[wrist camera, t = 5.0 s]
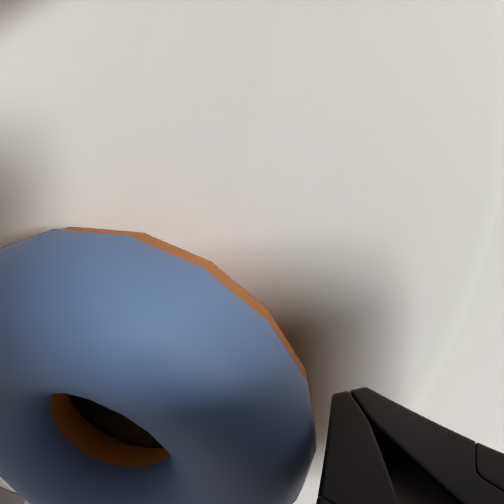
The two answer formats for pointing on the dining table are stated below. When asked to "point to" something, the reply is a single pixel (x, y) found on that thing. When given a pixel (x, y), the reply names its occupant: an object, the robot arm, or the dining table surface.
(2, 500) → the box
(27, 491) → the doughnut
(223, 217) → the dining table surface
